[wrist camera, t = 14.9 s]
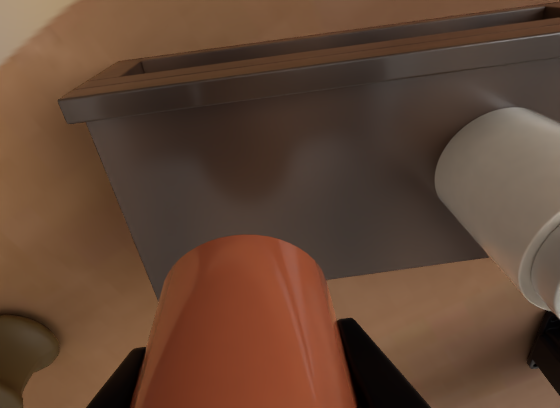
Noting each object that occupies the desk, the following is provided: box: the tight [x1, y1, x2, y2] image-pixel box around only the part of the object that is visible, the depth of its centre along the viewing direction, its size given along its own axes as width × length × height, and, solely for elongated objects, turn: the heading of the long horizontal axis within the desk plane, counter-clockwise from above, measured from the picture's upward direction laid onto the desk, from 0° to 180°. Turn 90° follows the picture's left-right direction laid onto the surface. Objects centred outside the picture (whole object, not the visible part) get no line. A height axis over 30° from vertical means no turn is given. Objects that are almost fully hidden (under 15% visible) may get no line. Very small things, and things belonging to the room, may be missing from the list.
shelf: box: [58, 2, 560, 302], centre depth 16 cm, size 20×10×6 cm, turn 97°
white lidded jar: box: [435, 107, 560, 319], centre depth 12 cm, size 5×5×6 cm
